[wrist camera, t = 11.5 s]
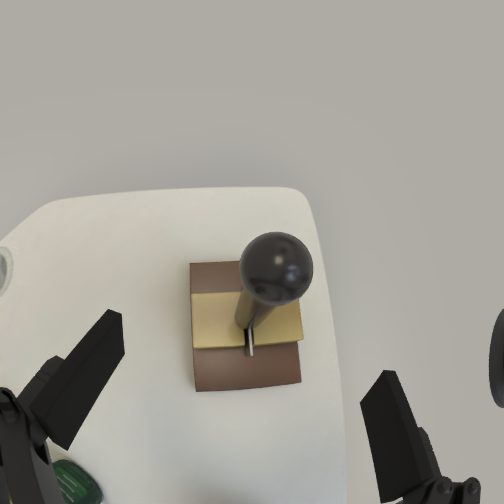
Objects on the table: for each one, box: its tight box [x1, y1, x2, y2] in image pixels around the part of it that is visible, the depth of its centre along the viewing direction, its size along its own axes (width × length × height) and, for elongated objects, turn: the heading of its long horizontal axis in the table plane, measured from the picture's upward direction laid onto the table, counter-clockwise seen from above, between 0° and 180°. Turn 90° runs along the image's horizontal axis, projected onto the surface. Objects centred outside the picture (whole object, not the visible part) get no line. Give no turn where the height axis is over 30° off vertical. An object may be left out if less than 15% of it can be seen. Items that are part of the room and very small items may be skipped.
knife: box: [235, 232, 313, 356], centre depth 19 cm, size 7×3×19 cm, turn 5°
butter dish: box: [190, 261, 303, 392], centre depth 27 cm, size 14×11×6 cm
